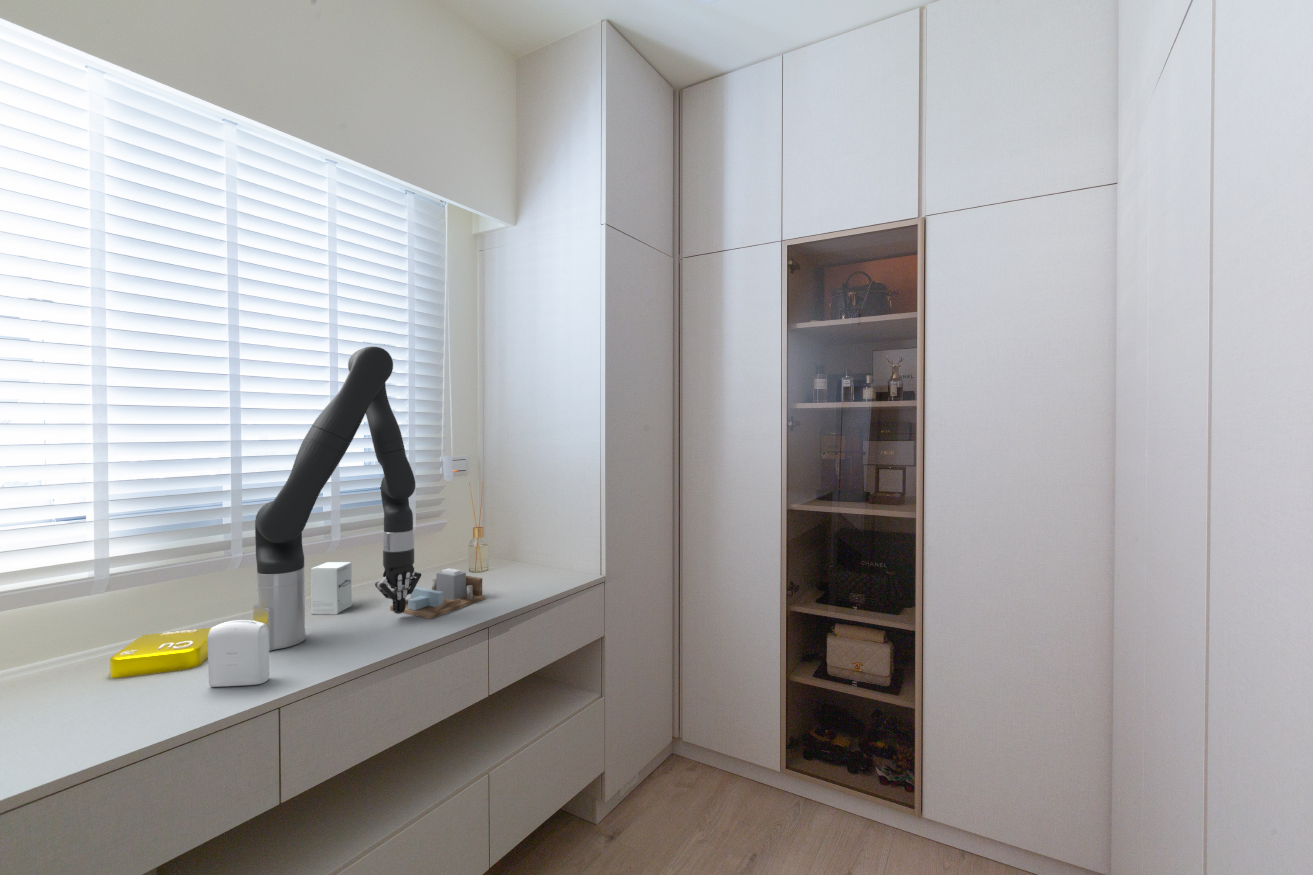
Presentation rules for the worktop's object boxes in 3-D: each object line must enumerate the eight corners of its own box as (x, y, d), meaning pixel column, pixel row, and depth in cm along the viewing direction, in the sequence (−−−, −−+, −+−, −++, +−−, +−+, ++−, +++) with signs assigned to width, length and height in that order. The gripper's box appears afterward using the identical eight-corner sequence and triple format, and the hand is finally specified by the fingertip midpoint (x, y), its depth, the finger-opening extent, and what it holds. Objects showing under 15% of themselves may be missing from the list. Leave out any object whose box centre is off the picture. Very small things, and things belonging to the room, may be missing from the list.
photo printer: (204, 688, 109) (203, 625, 109) (218, 679, 113) (218, 617, 113) (260, 686, 110) (259, 623, 110) (273, 677, 114) (272, 616, 114)
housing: (431, 618, 149) (431, 596, 149) (390, 609, 156) (390, 588, 156) (484, 598, 166) (484, 578, 166) (445, 591, 173) (445, 571, 173)
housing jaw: (426, 612, 150) (426, 597, 150) (397, 606, 155) (397, 591, 155) (443, 606, 156) (443, 591, 155) (415, 600, 161) (415, 586, 160)
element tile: (222, 644, 133) (222, 623, 132) (197, 669, 119) (196, 647, 118) (142, 653, 127) (141, 632, 127) (105, 681, 113) (104, 657, 113)
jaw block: (454, 600, 161) (453, 573, 161) (436, 597, 165) (436, 570, 164) (465, 596, 165) (465, 569, 165) (448, 592, 169) (448, 566, 168)
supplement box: (337, 614, 152) (337, 568, 152) (310, 614, 152) (309, 567, 152) (352, 606, 159) (352, 561, 159) (326, 605, 159) (326, 561, 159)
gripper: (386, 554, 141) (386, 622, 142) (429, 544, 153) (429, 607, 153) (366, 550, 145) (367, 618, 145) (410, 541, 156) (410, 603, 157)
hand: (399, 612), depth 149 cm, fingers closed
